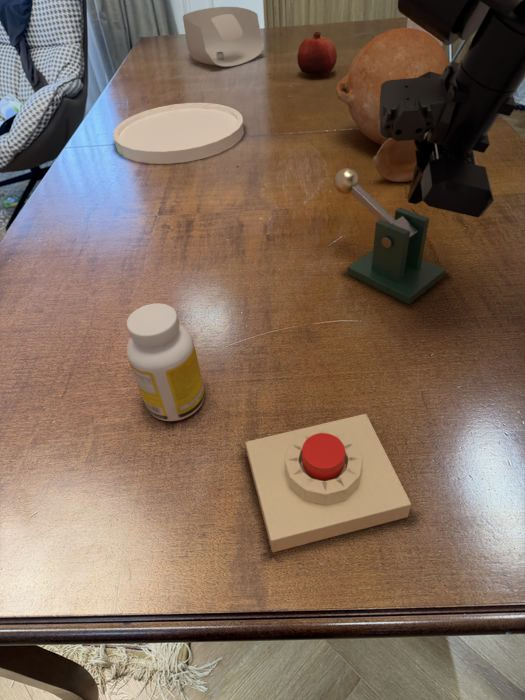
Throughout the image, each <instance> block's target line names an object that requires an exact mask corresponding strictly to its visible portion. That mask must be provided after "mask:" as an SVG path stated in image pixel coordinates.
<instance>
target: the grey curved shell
mask: <svg viewBox="0 0 525 700" xmlns="http://www.w3.org/2000/svg"><path fill="white" fill-rule="evenodd" d="M182 22H183V28H184V35H185V40H186V45H187V49H188V52H189V55H190V57H192V59H193V60H195V61H197V62H198V63H201V64H205V65H210V66H217V67H234V66H240V65H242V64H245V63H248V62H250V61H252V60H254V59H255V58H256V57H258V56H259V55H260V54H261V53H262V52H263V51H264V48H265V40H264V38H263V36H262V35H261V28H260V23H259V22H260V21H259V16H258V13H256V12H255V11H253V10H251V9H248V8H244V7H239V6H215V7H208V8H202V9H198V10H193V11H190V12H188V13H185V14H184V15H183V16H182Z"/></svg>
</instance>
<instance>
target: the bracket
mask: <svg viewBox="0 0 525 700" xmlns="http://www.w3.org/2000/svg"><path fill="white" fill-rule="evenodd" d="M402 216H403V217H404V218H405V219H406V220H407V221H408V222H409V223H410V224H411V225H412V226H414V227H415V228H416V229H417V230H418V232H417V233H416V235H415V236H414V237H413V239H412V240H411V241H410V243H409V237H410V231H408V230H406V229H403V228H401V227H398V226H396V225H393V224H391V223H388V222H386V221H383V220H378V221H376V222H375V227H374V236H373V237H374V238H373V248H372V250H371V251H370V252H368V253H367V254H365V255H364V256H362V257H361V258H359V259H358V260H356V261H355V262H353V263H352V264H350V265H348V266H347V275H348V276H350V277H352V278H354V279H356V280H358V281H360V282H362V283H364V284H366V285H368V286H370V287H373V288H375V289H376V290H379V291H380V292H382V293H385V294H386V295H388V296H390V297H392V298H395V299H397V300H398V301H401V302H403V303H404V304H407V305H410V304H411V303H413V302H414V301H415V300H416V299H418V298H420V296H422V295H424V293H426V292H427V291H428V290H430V289H431V288H432V287H433V286H434V285H435V284H437V283H439V282H440V281H441V280H442V279H443V278H445V276H446V272H447V271H446V270H447V269H446V268H443V267H441V266H439V265H437V264H435V263H432V262H429V261H427V260H425V259H423V257H424V252H425V247H426V246H425V245H426V241H427V240H426V239H427V234H428V229H429V223H430V218H429V217H427V216H425V215H421V214H419V213H417V212H414V211H411V210H408V209H405V208H402V207H398V208H396V209H395V211H394V217H393V218H394V219H395V220H397V219H399V218H400V217H402ZM408 243H409V244H408Z"/></svg>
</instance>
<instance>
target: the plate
mask: <svg viewBox="0 0 525 700" xmlns="http://www.w3.org/2000/svg"><path fill="white" fill-rule="evenodd" d="M244 134H245V130H244V120H243V115H242V114H241V112H239V111H238V110H236V109H234V108H232V107H230V106H227V105H224V104H220V103H219V104H218V103H212V102H211V103H209V102H185V103H174V104H169V105H163V106H159V107H155V108H151V109H147V110H143V111H141V112H139V113H136V114H133V115H131V116H130V117H128V118H126V119H125V120H123V121H121V122H120V123H119V124H118V125H116V127H115V128H114V131H113V133H112V136H113V141H114V145H115V147H116V150H117V153H118V154H120V155H121V156H122V157H123V158H125V159H128V160H131V161H133V162H136V163H143V164H149V165H171V164H182V163H183V164H184V163H188V162H189V163H190V162H193V161H198V160H203V159H207V158H210V157H212V156H215V155H218V154H221V153H223V152H225V151H227V150H229V149H231V148H233V147H234V146H235V145H236V144H237V143H239V142H241V140H242V138H243V136H244Z"/></svg>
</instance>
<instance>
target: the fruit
mask: <svg viewBox="0 0 525 700" xmlns="http://www.w3.org/2000/svg"><path fill="white" fill-rule="evenodd" d="M321 34H322V32H320V31H314V32H313V36H310V37H306V38H304V39H303V41H302V42H301V43H300V45H299V47H298V51H297V55H296V60H297V65H298V68H299V69H300V71H301V72H302V73H303V74H305V75H308V76H314V77H323V76H325V75H328V74H329V73H331V71H332V70H334V68H335V66H336V63H337V60H338V52H337V48H336V44H335V43H334V42H333V41H332V40H331V39H330V38H328V37H324V36H321Z"/></svg>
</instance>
